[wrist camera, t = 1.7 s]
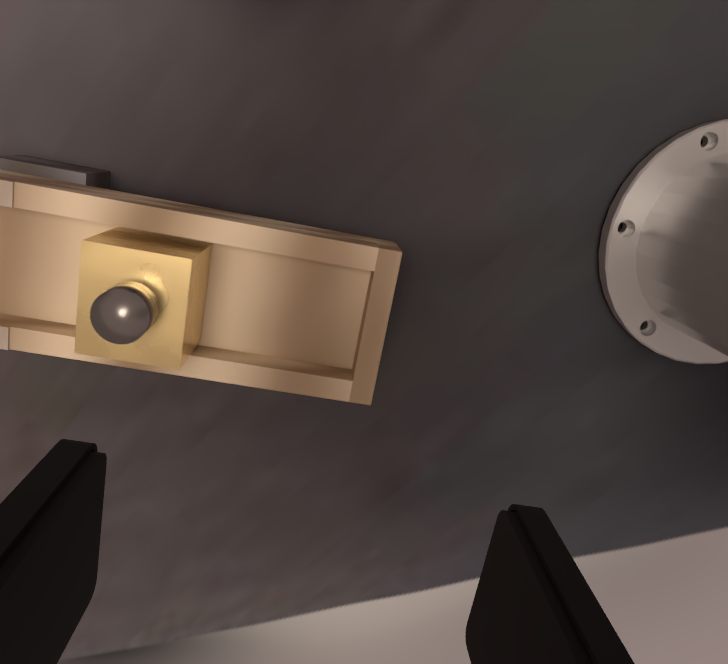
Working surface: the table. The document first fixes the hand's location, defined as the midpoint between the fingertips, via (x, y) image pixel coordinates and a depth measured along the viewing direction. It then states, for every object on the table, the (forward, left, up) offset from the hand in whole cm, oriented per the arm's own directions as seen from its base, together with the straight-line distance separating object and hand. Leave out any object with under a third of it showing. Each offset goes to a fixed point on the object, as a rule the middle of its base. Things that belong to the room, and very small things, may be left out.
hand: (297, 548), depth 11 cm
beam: (+13, 0, -22) cm, 25 cm away
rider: (+7, 0, -17) cm, 19 cm away
